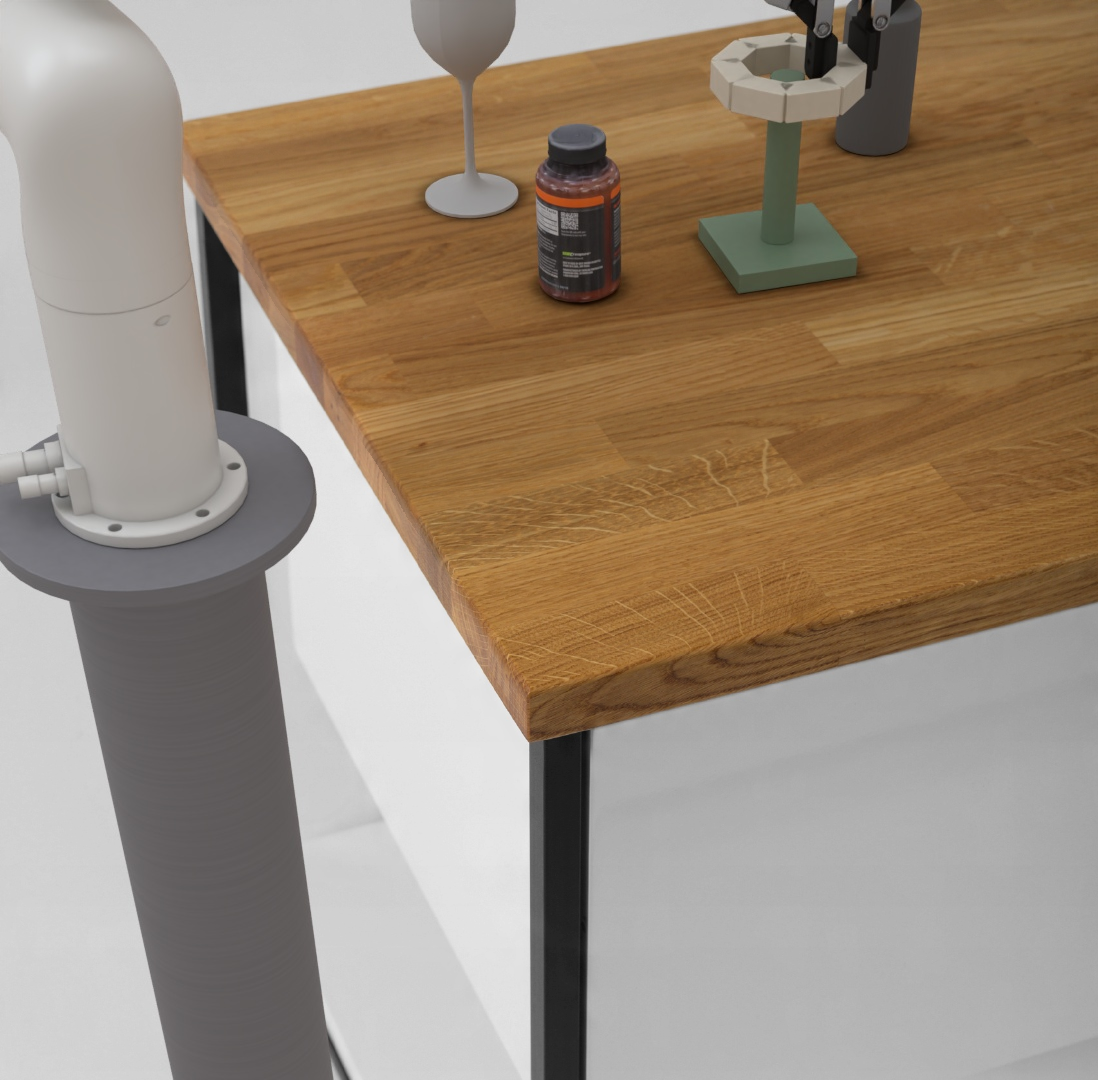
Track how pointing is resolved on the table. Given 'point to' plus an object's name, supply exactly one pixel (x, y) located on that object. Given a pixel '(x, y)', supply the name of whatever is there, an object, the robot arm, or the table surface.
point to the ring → (784, 99)
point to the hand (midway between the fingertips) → (839, 82)
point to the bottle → (884, 88)
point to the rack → (778, 225)
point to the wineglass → (466, 91)
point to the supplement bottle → (578, 216)
